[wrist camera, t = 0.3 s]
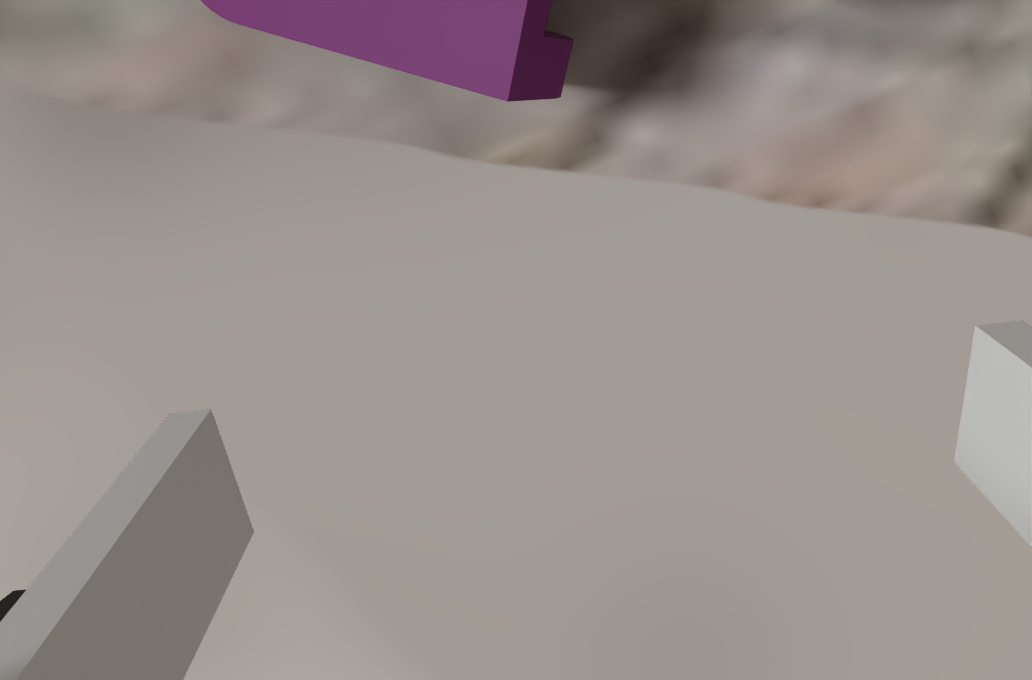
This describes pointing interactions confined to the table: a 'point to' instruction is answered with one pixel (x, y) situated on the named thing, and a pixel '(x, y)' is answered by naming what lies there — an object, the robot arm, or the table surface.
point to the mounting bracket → (427, 38)
